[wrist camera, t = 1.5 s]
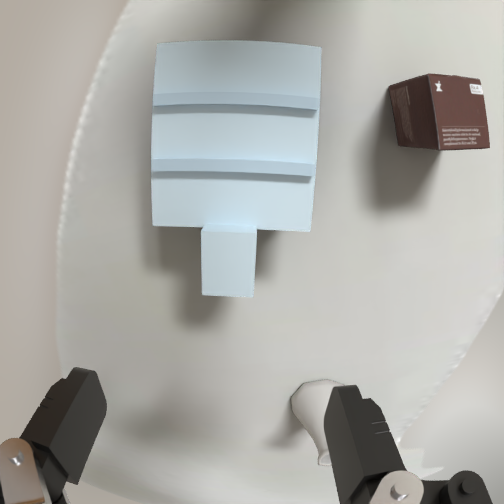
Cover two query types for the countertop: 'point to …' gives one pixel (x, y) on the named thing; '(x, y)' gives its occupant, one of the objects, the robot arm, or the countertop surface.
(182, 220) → the lid
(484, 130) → the box
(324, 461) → the flask
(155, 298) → the countertop surface
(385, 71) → the countertop surface
